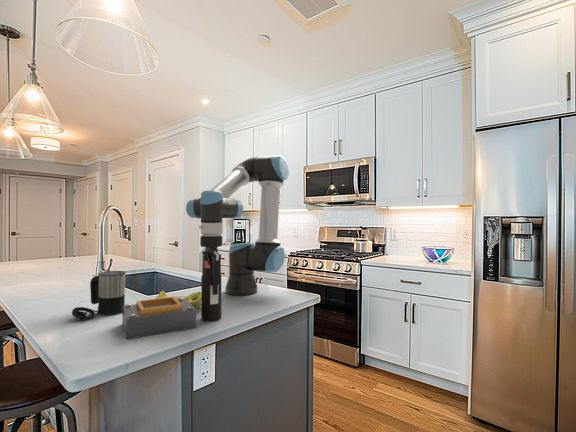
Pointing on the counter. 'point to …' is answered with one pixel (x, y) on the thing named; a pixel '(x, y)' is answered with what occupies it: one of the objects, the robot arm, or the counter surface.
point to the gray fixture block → (158, 317)
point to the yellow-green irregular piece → (192, 298)
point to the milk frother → (105, 295)
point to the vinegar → (208, 310)
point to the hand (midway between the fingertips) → (211, 301)
